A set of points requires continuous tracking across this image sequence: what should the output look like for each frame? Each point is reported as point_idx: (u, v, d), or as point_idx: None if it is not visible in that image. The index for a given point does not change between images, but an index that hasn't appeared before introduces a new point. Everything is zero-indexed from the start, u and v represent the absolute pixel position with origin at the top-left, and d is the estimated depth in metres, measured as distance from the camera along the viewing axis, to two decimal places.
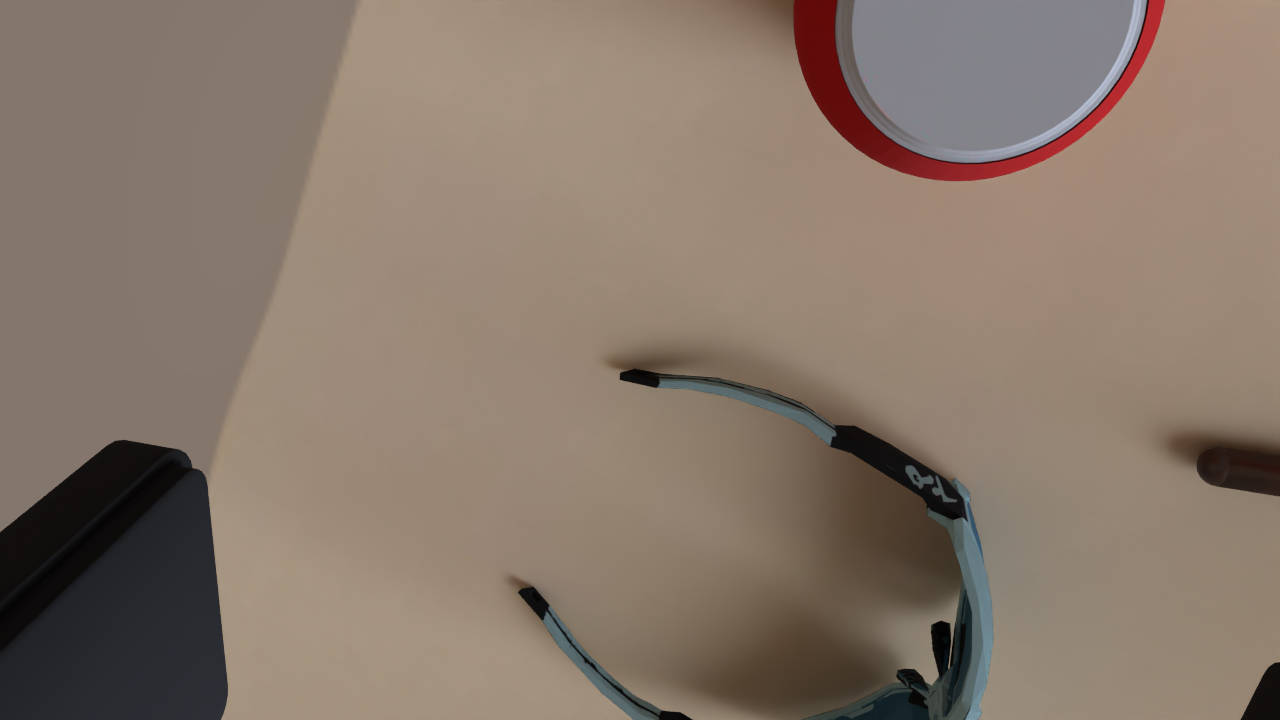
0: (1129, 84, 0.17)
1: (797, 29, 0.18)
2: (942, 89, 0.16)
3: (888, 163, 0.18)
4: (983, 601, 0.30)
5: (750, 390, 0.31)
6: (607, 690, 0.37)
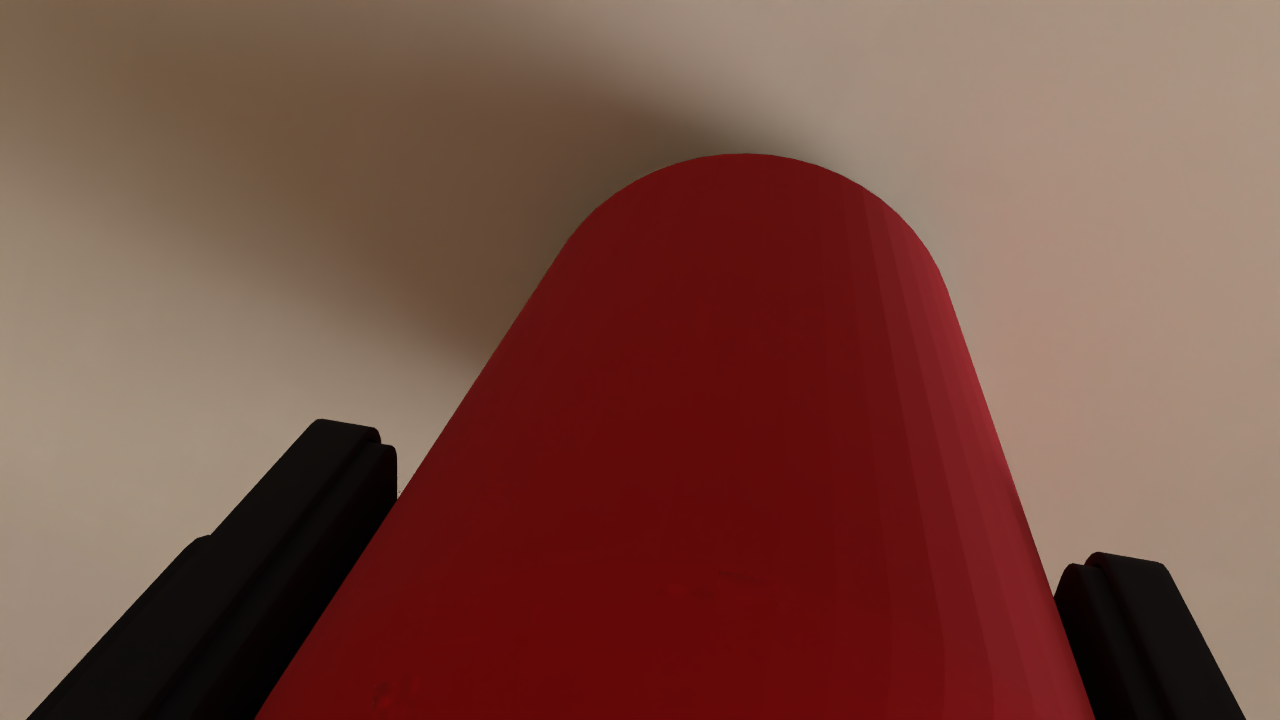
0: None
1: None
2: None
3: None
4: None
5: None
6: None
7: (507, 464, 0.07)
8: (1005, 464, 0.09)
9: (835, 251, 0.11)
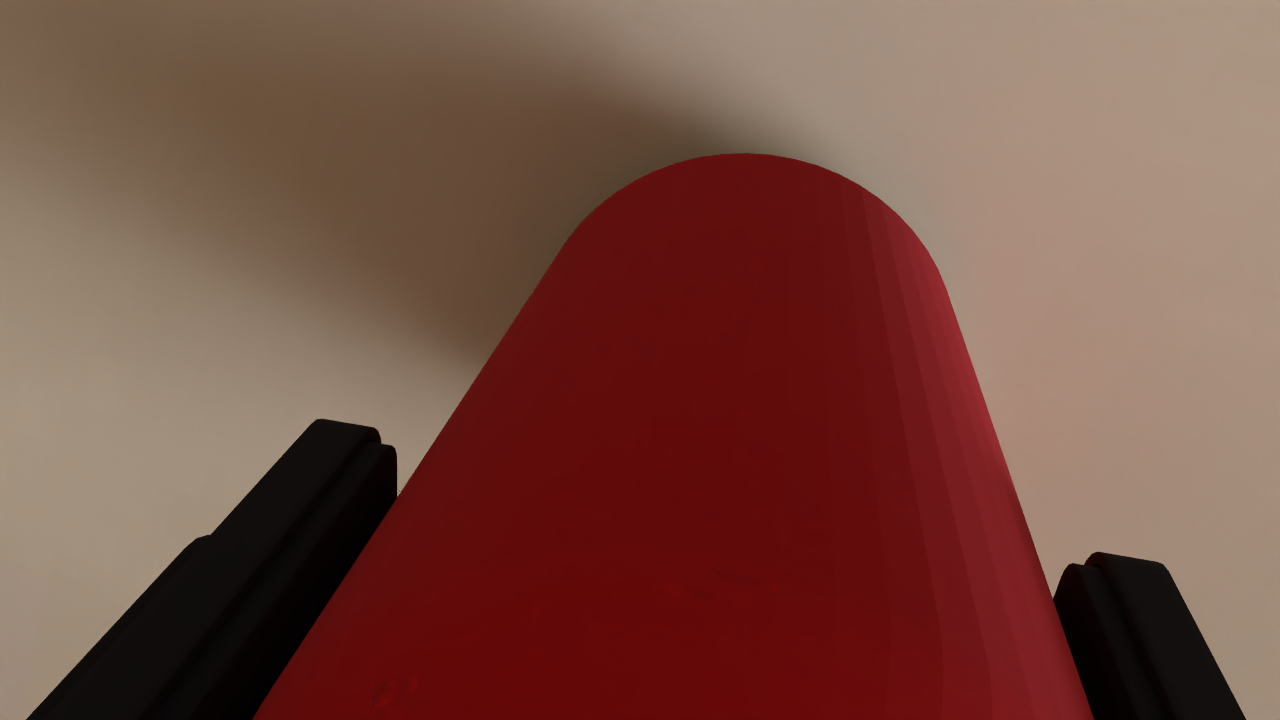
0: None
1: None
2: None
3: None
4: None
5: None
6: None
7: (506, 462, 0.07)
8: (1004, 464, 0.09)
9: (835, 250, 0.11)
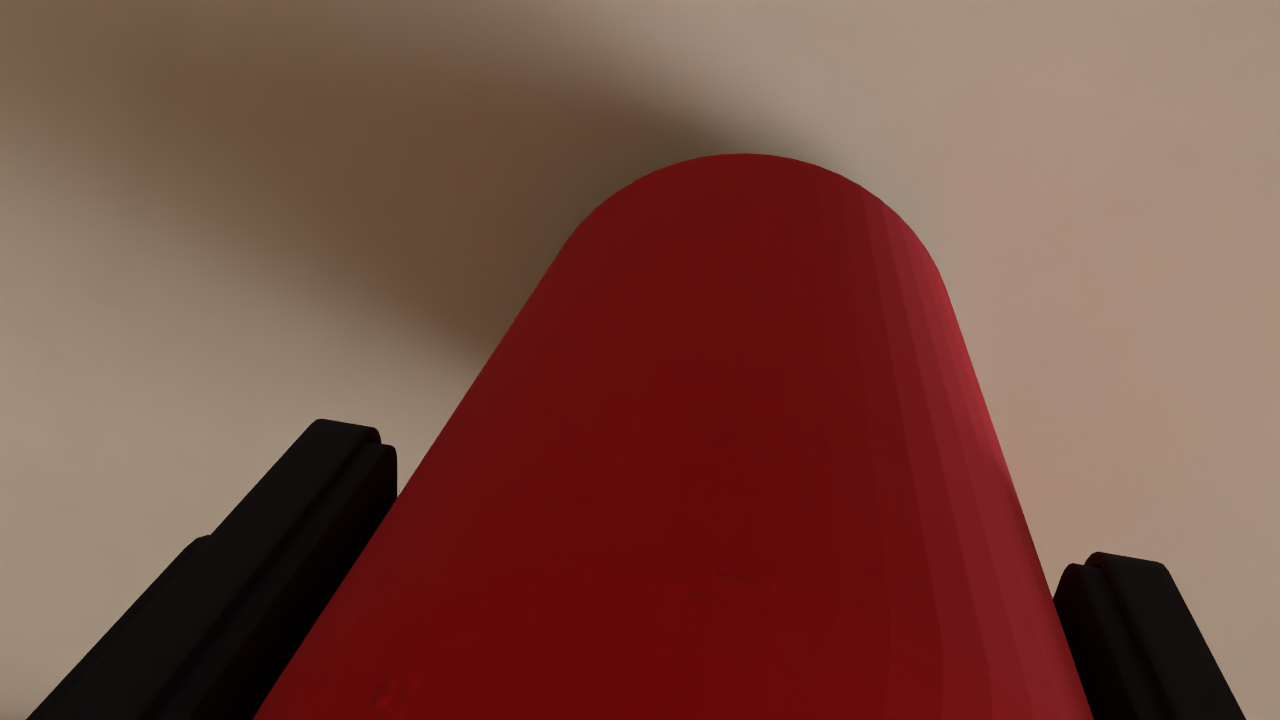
0: None
1: None
2: None
3: None
4: None
5: None
6: None
7: (507, 465, 0.07)
8: (1004, 464, 0.09)
9: (835, 250, 0.11)
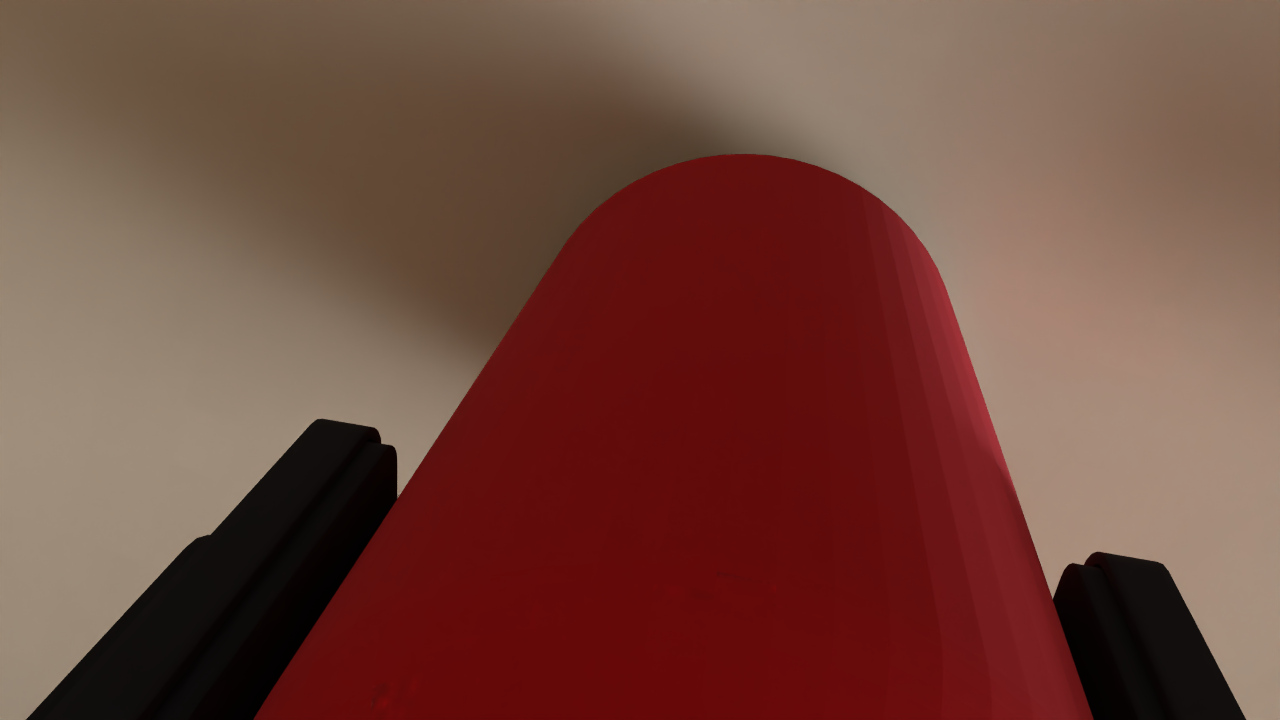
0: None
1: None
2: None
3: None
4: None
5: None
6: None
7: (506, 465, 0.07)
8: (1004, 465, 0.09)
9: (835, 251, 0.11)
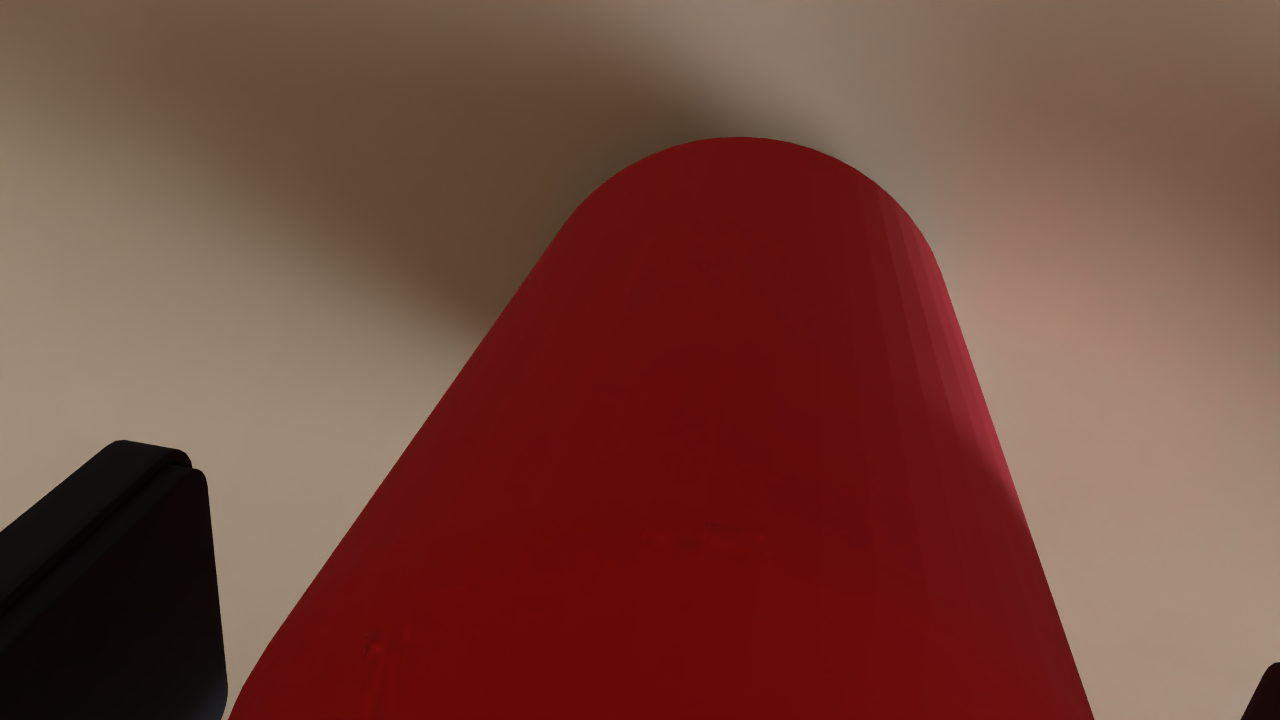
0: None
1: None
2: None
3: None
4: None
5: None
6: None
7: (499, 428, 0.07)
8: (995, 437, 0.09)
9: (827, 228, 0.11)
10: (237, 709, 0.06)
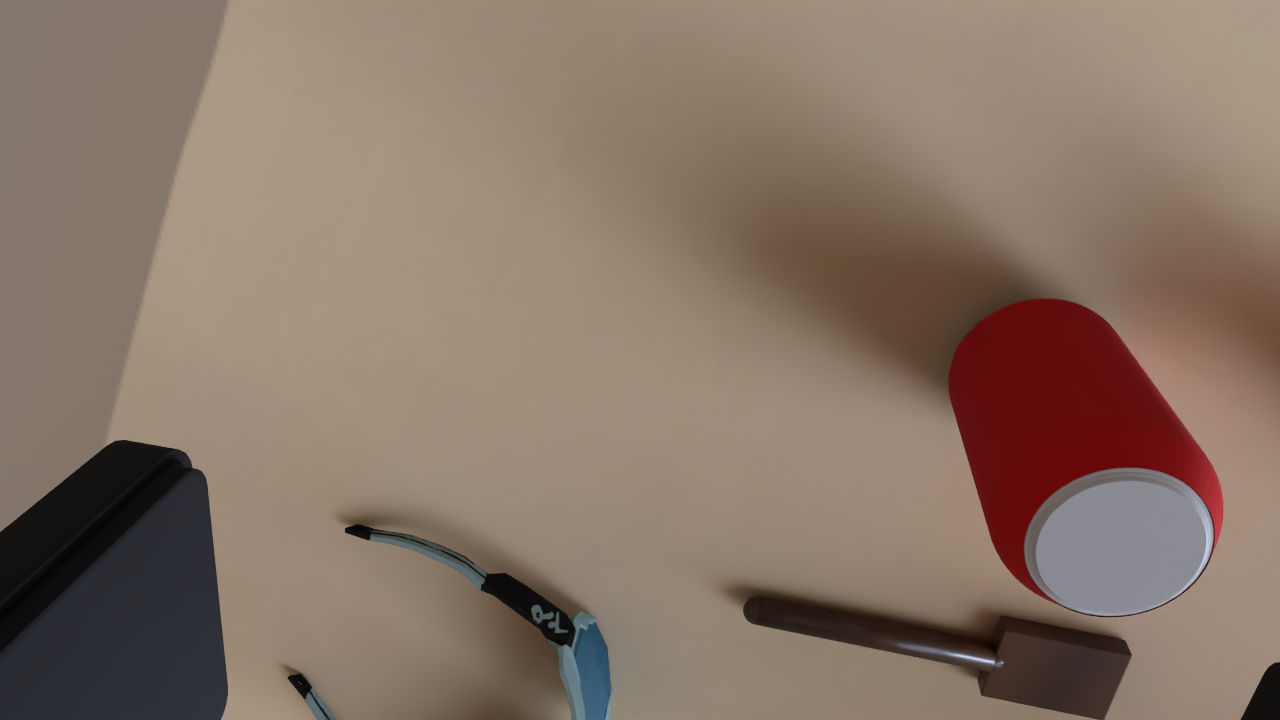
0: None
1: (993, 521, 0.29)
2: (1088, 581, 0.27)
3: (1044, 598, 0.29)
4: (578, 704, 0.42)
5: (430, 547, 0.44)
6: None
7: (1066, 401, 0.29)
8: None
9: (1109, 342, 0.32)
10: (1022, 461, 0.28)
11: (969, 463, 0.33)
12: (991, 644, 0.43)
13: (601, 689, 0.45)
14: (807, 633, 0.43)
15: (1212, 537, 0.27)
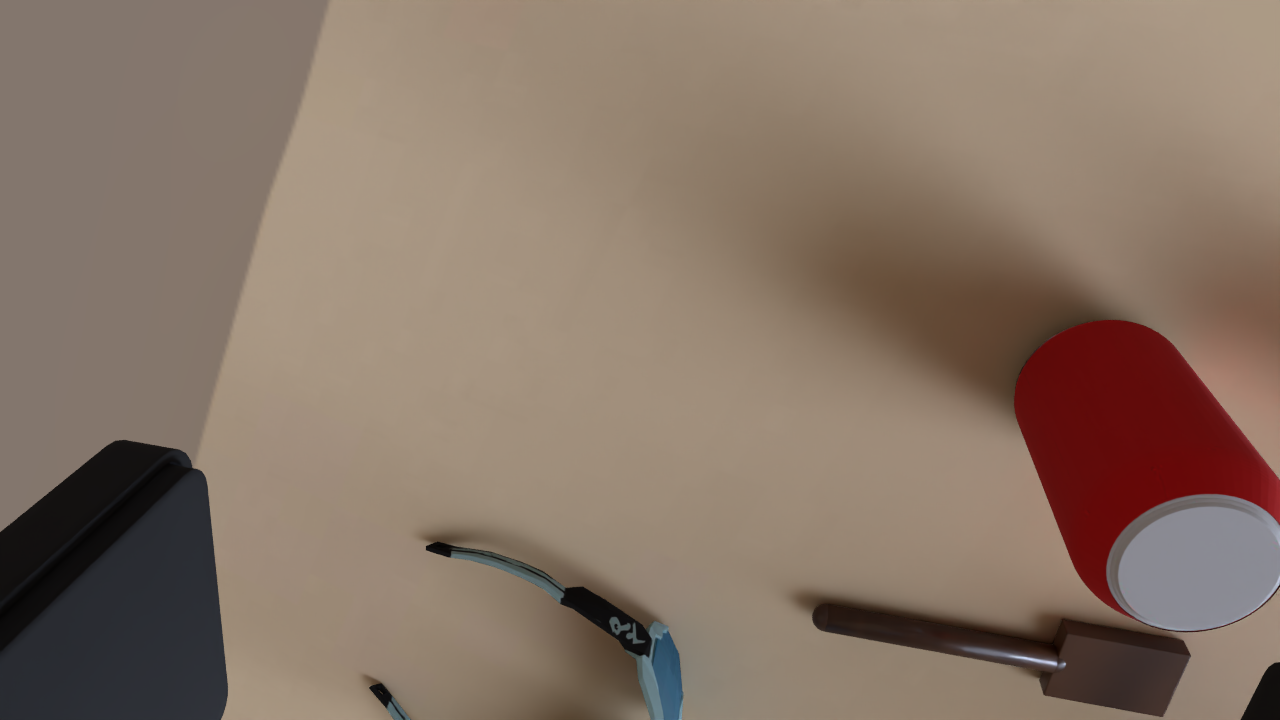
0: None
1: (1073, 542, 0.30)
2: (1168, 599, 0.29)
3: None
4: (657, 711, 0.44)
5: (509, 563, 0.46)
6: None
7: (1142, 427, 0.30)
8: None
9: (1175, 365, 0.34)
10: (1103, 487, 0.29)
11: (1042, 482, 0.34)
12: (1053, 646, 0.44)
13: (676, 695, 0.47)
14: (876, 639, 0.45)
15: None
